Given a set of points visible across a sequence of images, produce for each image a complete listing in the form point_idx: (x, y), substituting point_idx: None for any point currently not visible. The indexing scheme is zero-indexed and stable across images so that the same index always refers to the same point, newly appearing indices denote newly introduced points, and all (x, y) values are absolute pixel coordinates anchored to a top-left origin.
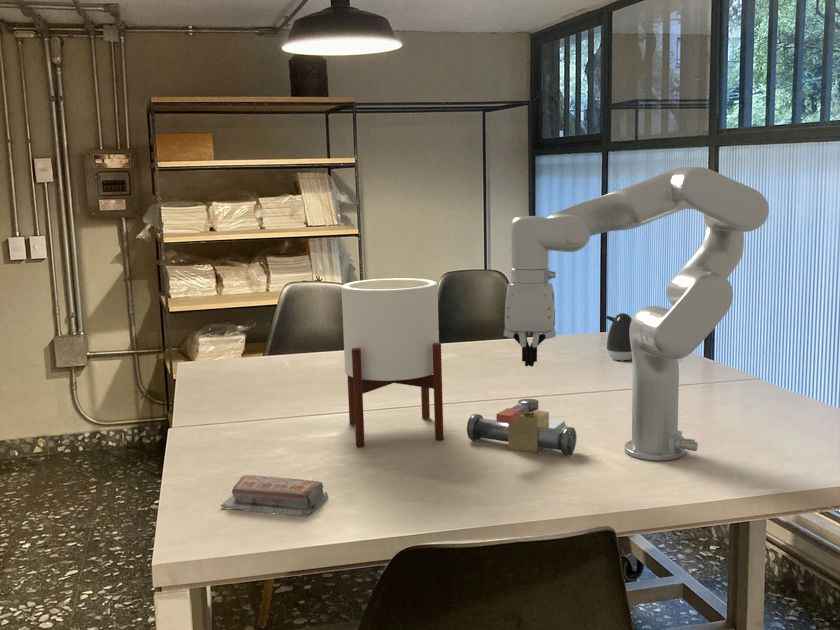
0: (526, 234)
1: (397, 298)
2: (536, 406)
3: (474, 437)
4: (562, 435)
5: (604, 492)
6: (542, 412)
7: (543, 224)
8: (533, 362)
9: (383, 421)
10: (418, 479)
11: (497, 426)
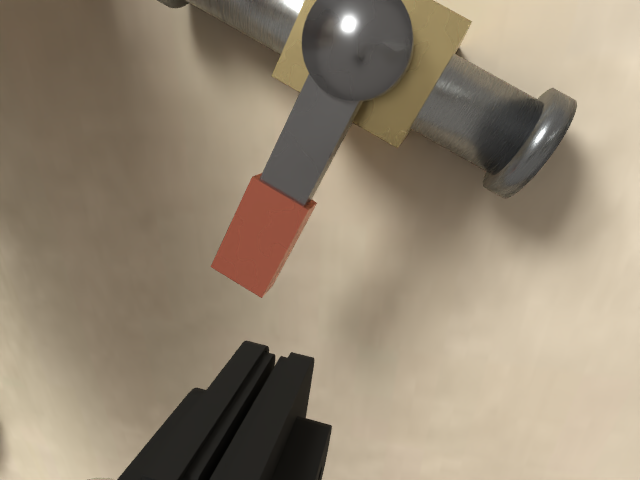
0: None
1: None
2: (398, 80)
3: None
4: (499, 183)
5: (543, 451)
6: (436, 34)
7: None
8: (302, 413)
9: None
10: (112, 312)
11: (251, 27)
